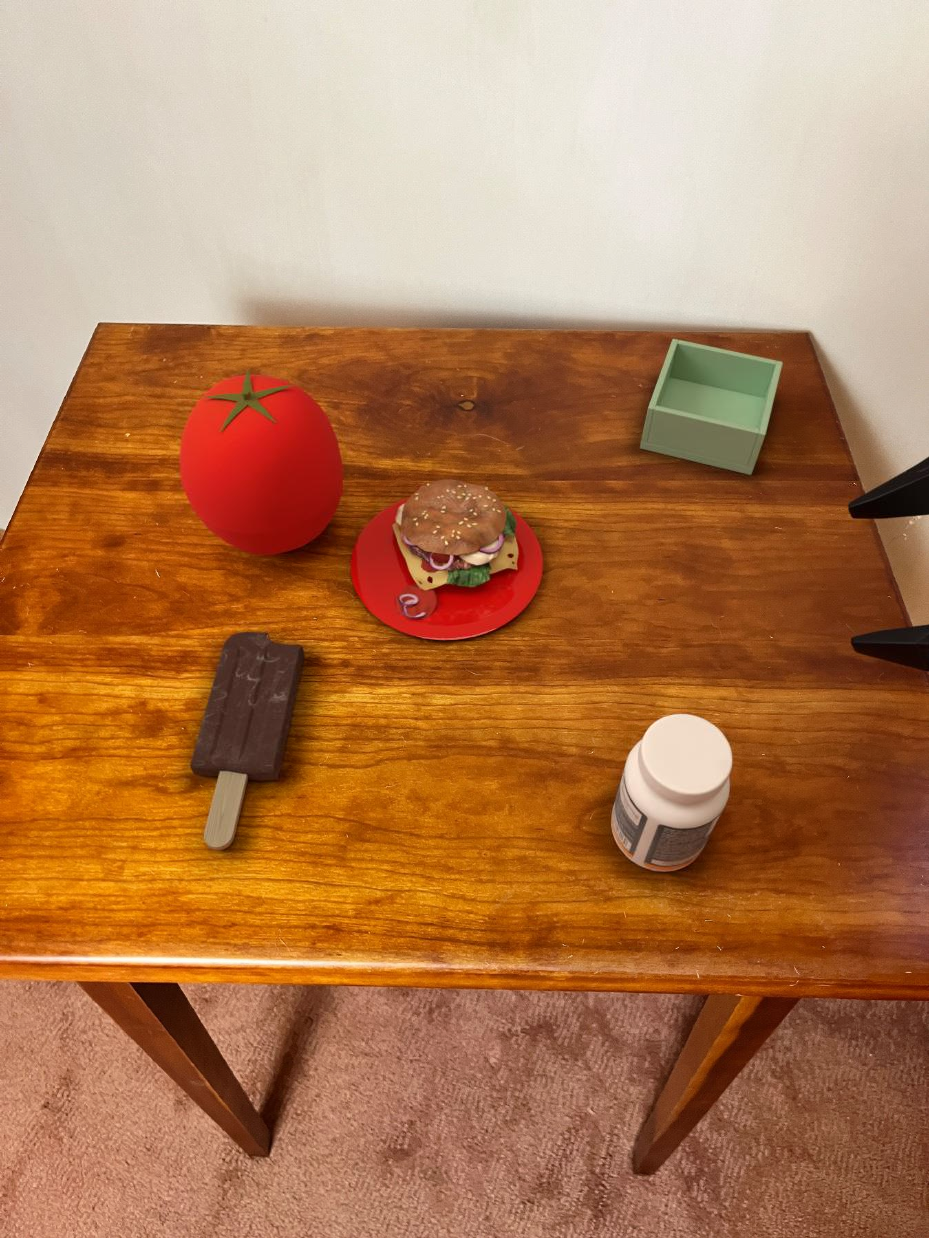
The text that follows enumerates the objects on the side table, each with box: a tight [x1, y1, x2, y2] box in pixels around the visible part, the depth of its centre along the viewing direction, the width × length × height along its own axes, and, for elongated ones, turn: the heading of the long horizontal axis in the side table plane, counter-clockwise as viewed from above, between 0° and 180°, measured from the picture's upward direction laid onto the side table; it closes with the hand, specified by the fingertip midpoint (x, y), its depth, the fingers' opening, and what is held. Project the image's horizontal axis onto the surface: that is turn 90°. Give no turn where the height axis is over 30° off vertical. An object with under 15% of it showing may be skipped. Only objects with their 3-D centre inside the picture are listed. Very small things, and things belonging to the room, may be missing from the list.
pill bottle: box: [610, 713, 734, 873], centre depth 51 cm, size 6×6×10 cm
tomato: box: [179, 368, 344, 556], centre depth 64 cm, size 11×11×13 cm
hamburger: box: [350, 478, 544, 641], centre depth 64 cm, size 14×14×6 cm
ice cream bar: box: [189, 631, 305, 851], centre depth 58 cm, size 5×2×15 cm
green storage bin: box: [639, 338, 783, 476], centre depth 74 cm, size 9×9×4 cm
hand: (851, 575), depth 51 cm, fingers open, 9 cm apart
